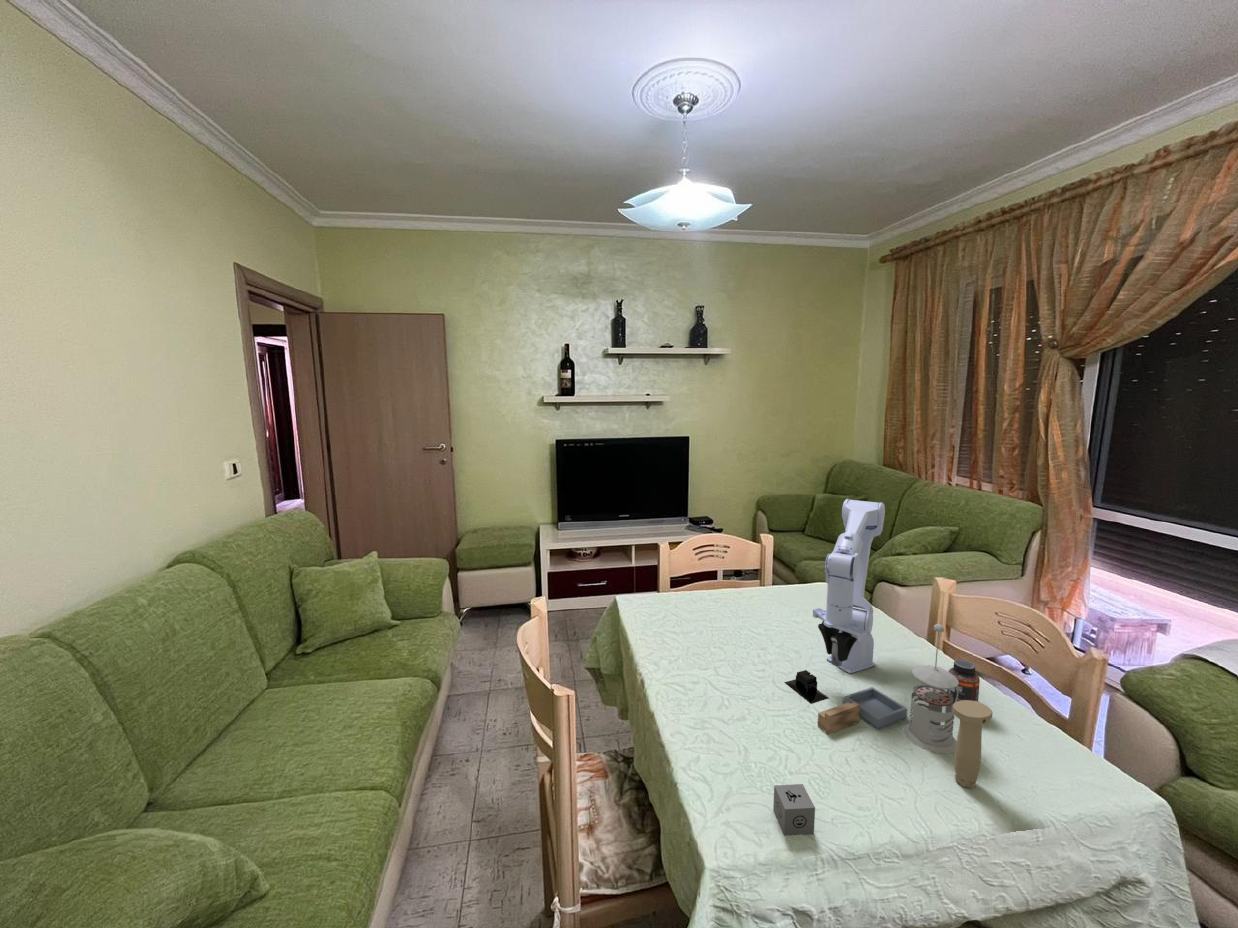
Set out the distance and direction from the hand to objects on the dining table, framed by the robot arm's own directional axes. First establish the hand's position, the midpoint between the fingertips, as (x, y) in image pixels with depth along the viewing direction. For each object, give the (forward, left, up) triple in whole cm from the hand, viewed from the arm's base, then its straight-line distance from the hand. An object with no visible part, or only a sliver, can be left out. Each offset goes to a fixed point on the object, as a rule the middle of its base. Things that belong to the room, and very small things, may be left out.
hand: (836, 656), depth 120 cm
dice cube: (+36, +25, -9) cm, 45 cm away
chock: (+9, +9, -9) cm, 16 cm away
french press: (-6, +20, -9) cm, 23 cm away
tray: (-1, +10, -9) cm, 13 cm away
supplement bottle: (-20, +17, -9) cm, 28 cm away
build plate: (+6, -3, -10) cm, 12 cm away
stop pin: (0, 0, -2) cm, 2 cm away
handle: (+1, +31, -9) cm, 33 cm away
